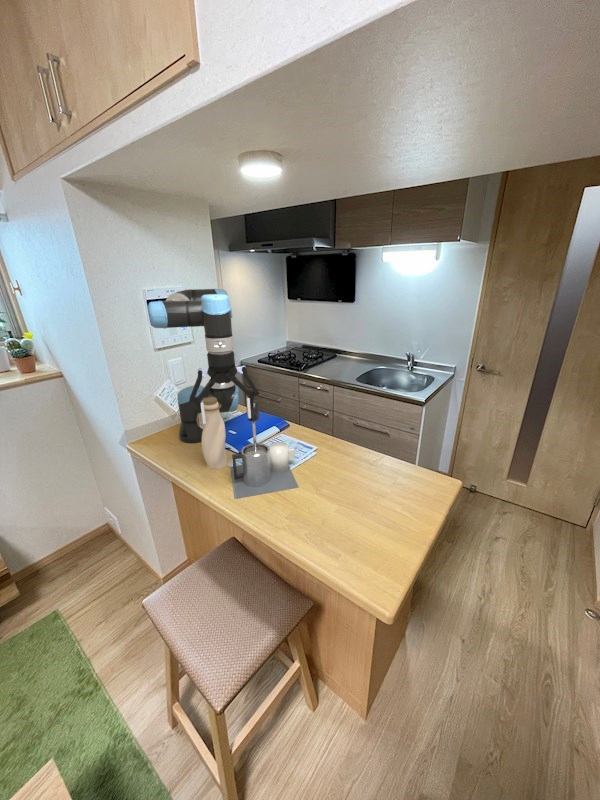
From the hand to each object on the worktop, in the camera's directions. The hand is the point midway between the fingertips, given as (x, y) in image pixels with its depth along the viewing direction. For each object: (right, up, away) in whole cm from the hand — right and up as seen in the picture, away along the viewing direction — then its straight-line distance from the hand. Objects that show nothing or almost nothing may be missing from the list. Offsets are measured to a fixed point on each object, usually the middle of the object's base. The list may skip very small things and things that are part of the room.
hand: (227, 419), depth 98 cm
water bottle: (-10, -20, +26) cm, 35 cm away
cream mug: (+16, -20, +24) cm, 34 cm away
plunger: (+7, -13, +13) cm, 19 cm away
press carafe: (+6, -23, +16) cm, 28 cm away
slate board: (+9, -23, +18) cm, 31 cm away
